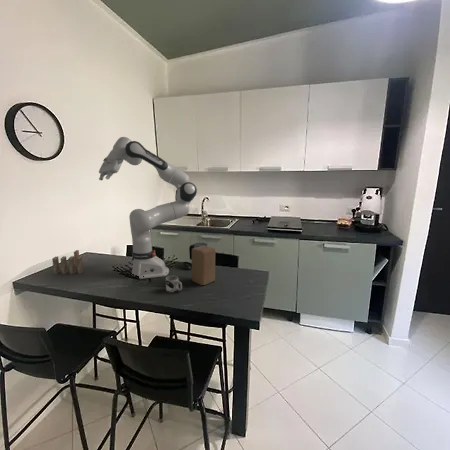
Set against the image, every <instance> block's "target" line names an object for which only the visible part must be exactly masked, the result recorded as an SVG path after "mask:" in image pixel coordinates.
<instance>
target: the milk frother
mask: <svg viewBox="0 0 450 450" xmlns="http://www.w3.org/2000/svg"><path fill="white" fill-rule="evenodd" d="M200 246H208V243H206V242H195V243H193V244H191V245H190V246H189V248H188V249H189V250H188V251H189V253H188V254H189V260H190V261H192V249H193V248H196V247H200ZM182 266H183V268H184V269H186V270H192V262H188V261H183V262H182Z"/></svg>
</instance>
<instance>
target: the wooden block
mask: <svg viewBox="0 0 450 450" xmlns="http://www.w3.org/2000/svg"><path fill="white" fill-rule="evenodd" d="M191 264H192V269H191V281H192V282H194V283H196V284H197V285H200V286H202V285H204V286H206V285H209V284H211V283H213V281H214V282H215V280H216V249H215V247H214V248H213V247H210V246H208V245H207V246H200V247H196V248H193V249H192V260H191Z"/></svg>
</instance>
